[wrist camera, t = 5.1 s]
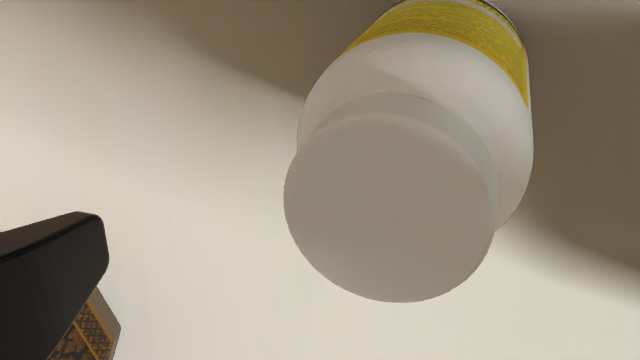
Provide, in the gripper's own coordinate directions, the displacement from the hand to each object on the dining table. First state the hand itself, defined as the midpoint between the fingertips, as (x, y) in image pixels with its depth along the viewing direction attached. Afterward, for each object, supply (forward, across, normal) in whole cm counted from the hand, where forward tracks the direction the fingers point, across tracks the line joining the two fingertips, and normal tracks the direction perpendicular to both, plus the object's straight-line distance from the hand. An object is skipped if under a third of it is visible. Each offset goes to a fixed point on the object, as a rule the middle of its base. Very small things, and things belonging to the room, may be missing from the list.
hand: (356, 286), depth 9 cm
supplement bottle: (+12, 0, 0) cm, 12 cm away
